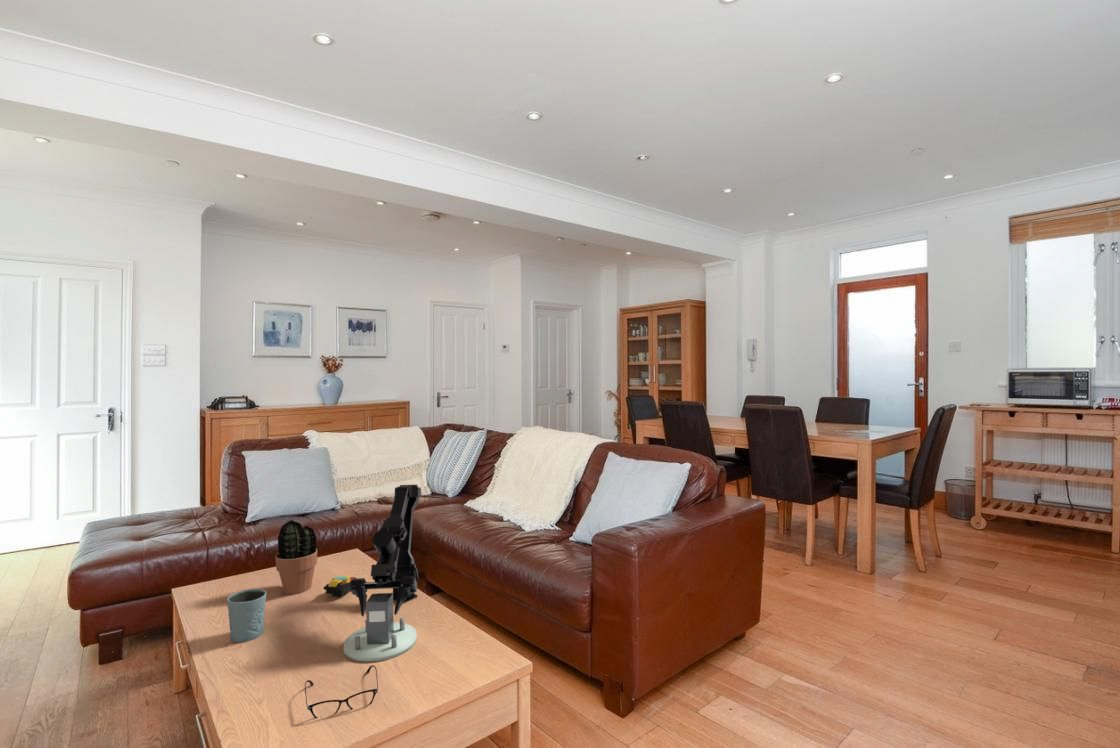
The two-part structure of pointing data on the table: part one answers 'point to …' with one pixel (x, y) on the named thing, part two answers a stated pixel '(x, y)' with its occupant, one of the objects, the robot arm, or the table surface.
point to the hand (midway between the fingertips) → (378, 615)
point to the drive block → (379, 618)
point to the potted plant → (296, 557)
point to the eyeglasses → (341, 700)
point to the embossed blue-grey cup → (246, 614)
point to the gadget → (338, 586)
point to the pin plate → (377, 652)
